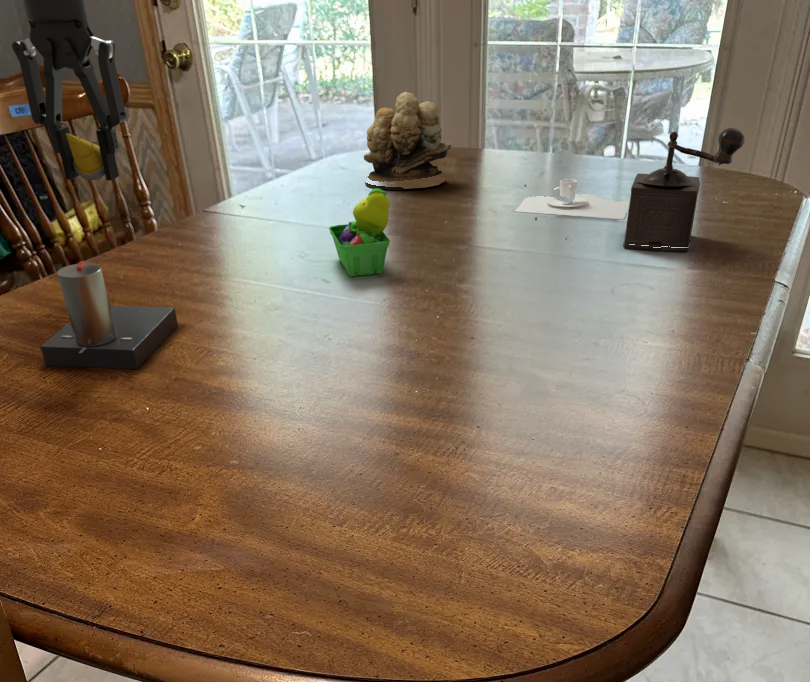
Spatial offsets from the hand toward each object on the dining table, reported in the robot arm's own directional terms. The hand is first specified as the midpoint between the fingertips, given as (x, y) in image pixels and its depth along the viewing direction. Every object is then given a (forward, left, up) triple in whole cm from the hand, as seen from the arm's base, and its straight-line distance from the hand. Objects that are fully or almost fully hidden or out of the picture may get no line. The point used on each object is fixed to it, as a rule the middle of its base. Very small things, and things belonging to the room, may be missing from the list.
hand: (92, 177), depth 120 cm
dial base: (+11, -25, -15) cm, 31 cm away
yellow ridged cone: (0, 0, -1) cm, 1 cm away
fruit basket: (+38, +8, -15) cm, 41 cm away
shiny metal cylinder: (+11, -29, -12) cm, 33 cm away
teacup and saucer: (+72, +48, -15) cm, 88 cm away
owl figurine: (+38, +61, -15) cm, 73 cm away
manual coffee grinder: (+87, +23, -15) cm, 91 cm away
